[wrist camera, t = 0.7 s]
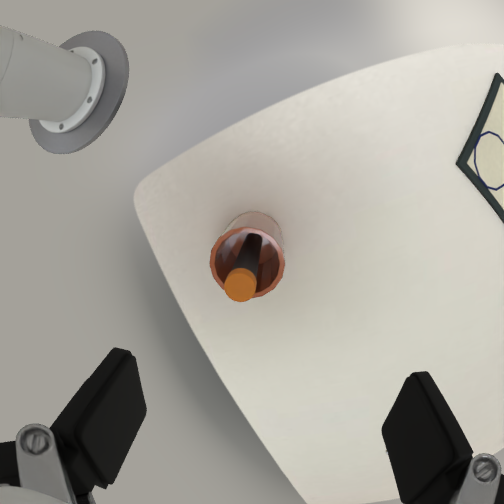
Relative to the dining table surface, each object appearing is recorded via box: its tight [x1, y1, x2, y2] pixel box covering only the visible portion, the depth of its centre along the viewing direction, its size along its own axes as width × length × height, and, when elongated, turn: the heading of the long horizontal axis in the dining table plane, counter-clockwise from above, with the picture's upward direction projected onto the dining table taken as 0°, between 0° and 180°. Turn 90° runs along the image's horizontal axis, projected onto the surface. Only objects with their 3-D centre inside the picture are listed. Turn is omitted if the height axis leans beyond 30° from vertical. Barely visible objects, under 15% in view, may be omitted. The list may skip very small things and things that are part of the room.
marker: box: [224, 233, 262, 302], centre depth 24 cm, size 2×2×12 cm
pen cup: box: [210, 212, 285, 298], centre depth 26 cm, size 6×6×8 cm
